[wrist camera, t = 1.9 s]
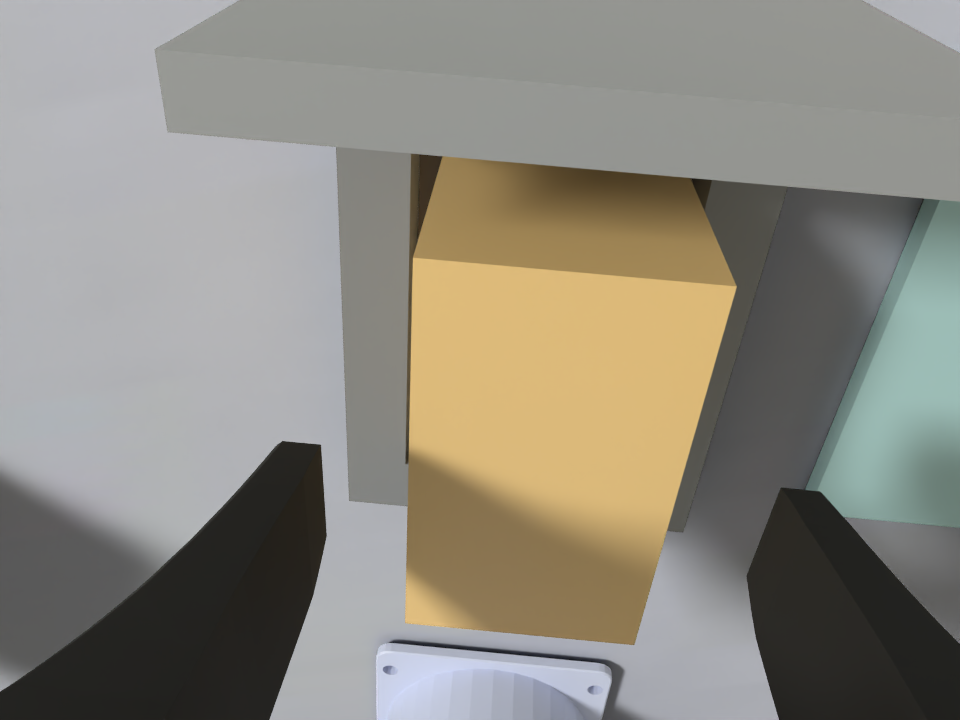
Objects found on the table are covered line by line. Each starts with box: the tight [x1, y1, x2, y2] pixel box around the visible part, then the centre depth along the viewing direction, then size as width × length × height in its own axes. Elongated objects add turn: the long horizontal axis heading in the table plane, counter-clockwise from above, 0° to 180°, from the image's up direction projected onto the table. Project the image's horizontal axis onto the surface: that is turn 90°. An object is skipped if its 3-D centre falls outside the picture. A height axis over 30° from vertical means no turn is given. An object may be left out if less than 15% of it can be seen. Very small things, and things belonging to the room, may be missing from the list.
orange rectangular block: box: [405, 156, 737, 645], centre depth 16 cm, size 8×4×7 cm, turn 176°
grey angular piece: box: [155, 0, 960, 532], centre depth 15 cm, size 13×9×9 cm
